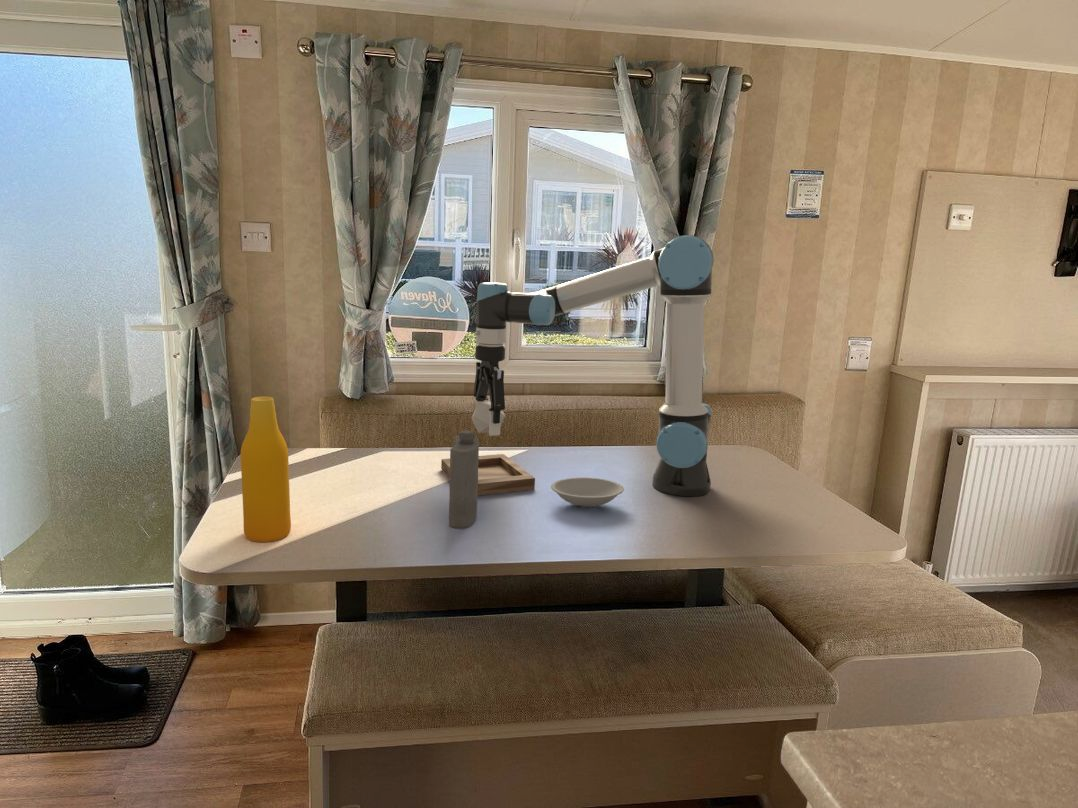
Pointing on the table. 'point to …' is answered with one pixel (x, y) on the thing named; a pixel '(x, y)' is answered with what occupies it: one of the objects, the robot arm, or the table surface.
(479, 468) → the tray
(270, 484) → the beer bottle
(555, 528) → the table surface
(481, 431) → the die
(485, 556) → the table surface
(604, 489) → the dish
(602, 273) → the robot arm
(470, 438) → the flask
